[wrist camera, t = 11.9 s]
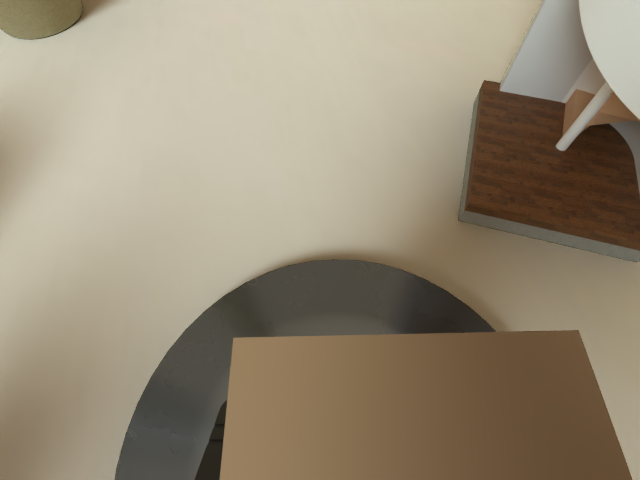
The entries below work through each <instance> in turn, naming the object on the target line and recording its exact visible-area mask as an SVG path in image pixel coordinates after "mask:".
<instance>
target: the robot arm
mask: <svg viewBox="0 0 640 480" xmlns="http://www.w3.org/2000/svg"><path fill="white" fill-rule="evenodd" d="M226 408H227V400H226V401H225V402H224V403H223V404H222V406H221V407H220V410H219V413H218V416H217V418H216V421H215V424H214V428H213V429H212V432H211V435H210V438H209V443H208V444H207V446H206V449H205V452H204V454H203V457H202V460H201V463H200V465H199V468H198V471H197V474H196V477H195V479H194V480H220V470H221V460H222V450H223V439H224V429H225V419H226Z"/></svg>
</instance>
